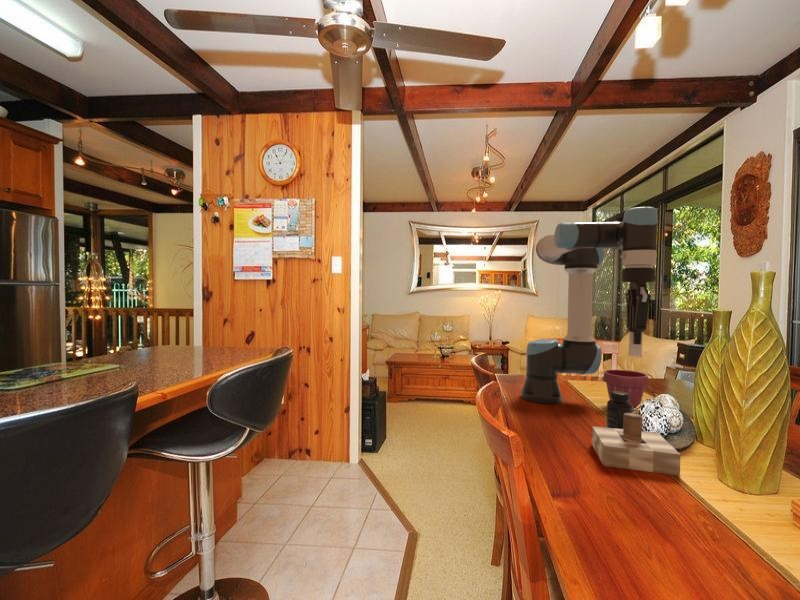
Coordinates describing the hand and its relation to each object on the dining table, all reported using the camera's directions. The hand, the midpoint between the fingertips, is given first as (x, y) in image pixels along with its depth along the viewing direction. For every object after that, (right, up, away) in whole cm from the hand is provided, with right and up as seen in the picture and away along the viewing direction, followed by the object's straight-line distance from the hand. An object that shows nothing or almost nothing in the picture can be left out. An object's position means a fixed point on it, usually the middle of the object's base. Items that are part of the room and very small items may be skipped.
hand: (634, 355), depth 101 cm
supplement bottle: (+4, -26, +15) cm, 30 cm away
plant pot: (+21, -25, +40) cm, 52 cm away
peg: (-3, -26, -4) cm, 26 cm away
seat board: (-3, -26, -4) cm, 26 cm away
